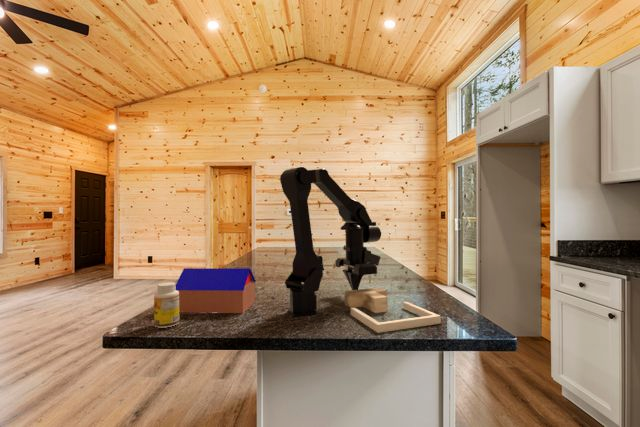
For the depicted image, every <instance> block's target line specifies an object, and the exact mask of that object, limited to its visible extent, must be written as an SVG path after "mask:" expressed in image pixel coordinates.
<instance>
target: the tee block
mask: <svg viewBox="0 0 640 427" xmlns="http://www.w3.org/2000/svg"><path fill="white" fill-rule="evenodd" d="M343 292H344V295H343V296H344V305H345V306H347V307H348V308H349V309H351V308H362V307H363V308H365V309H367V310H369V311H370V312H372V313H374V314H379V313H386V312H388V310H389V309H388V306H389V305H388V295H387V292H388V291H387V289H384V288H382V287H373V288H371V287H370V288H361V289H360V288H358V290H352V289H351V290H349V289H348V290H344V291H343Z"/></svg>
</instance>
